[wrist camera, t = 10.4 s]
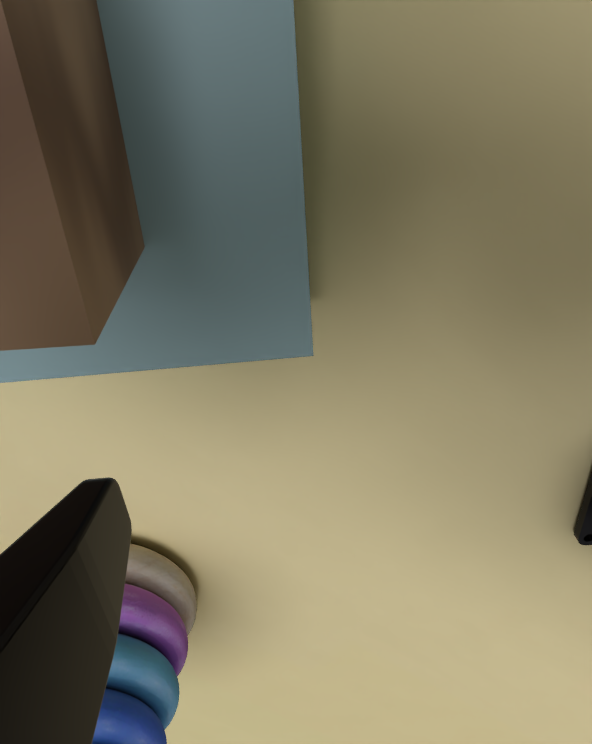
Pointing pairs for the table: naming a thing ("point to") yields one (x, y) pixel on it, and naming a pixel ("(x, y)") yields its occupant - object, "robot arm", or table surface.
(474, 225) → the table surface
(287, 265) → the teal base box
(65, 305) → the walnut block
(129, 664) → the stacking toy
